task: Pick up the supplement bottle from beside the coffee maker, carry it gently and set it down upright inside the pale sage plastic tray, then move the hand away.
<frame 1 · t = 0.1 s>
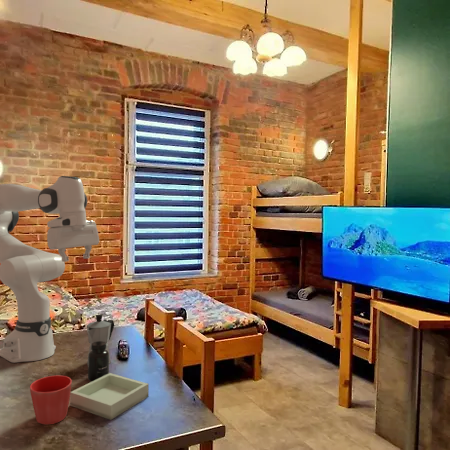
hand: (76, 259, 148), 39 cm above the table, tool pointing down, fingers open, 8 cm apart
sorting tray: (110, 400, 125), on the table
coffee maker: (101, 362, 155), on the table
supplement bottle: (98, 378, 141), on the table
flower pot: (51, 418, 115), on the table
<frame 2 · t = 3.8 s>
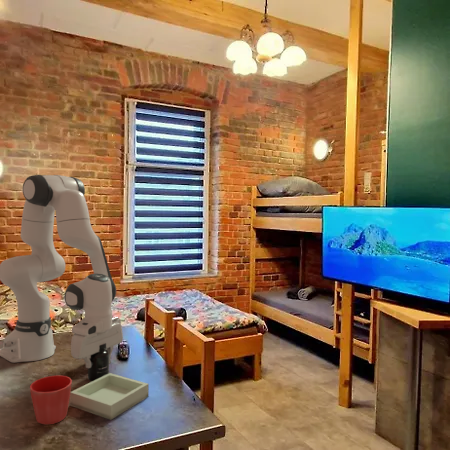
hand: (98, 363, 141), 5 cm above the table, tool pointing down, fingers closed on supplement bottle, 7 cm apart
supplement bottle: (98, 378, 141), on the table, touching gripper
everything else where it was.
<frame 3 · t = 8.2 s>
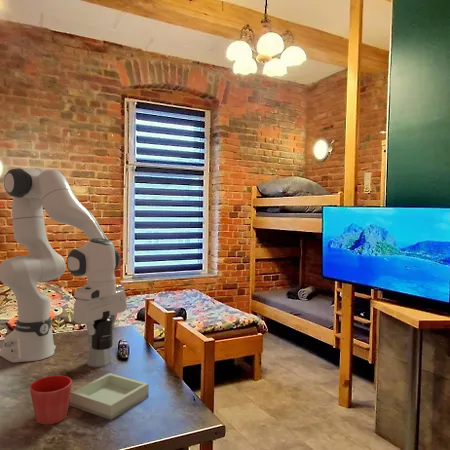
hand: (102, 330, 136), 18 cm above the table, tool pointing down, fingers closed on supplement bottle, 7 cm apart
supplement bottle: (102, 347, 136), point 12 cm above the table, touching gripper
everything else where it was.
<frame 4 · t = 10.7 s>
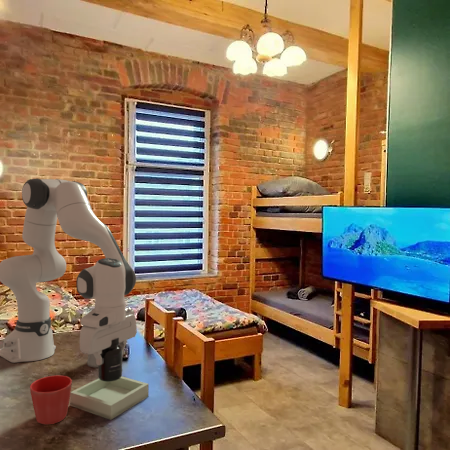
hand: (110, 359, 124), 13 cm above the table, tool pointing down, fingers closed on supplement bottle, 7 cm apart
supplement bottle: (110, 378, 124), point 7 cm above the table, touching gripper
everything else where it was.
when the fingers open (7 cm above the table, at t = 12.8 s): supplement bottle drops 1 cm, resting on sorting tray.
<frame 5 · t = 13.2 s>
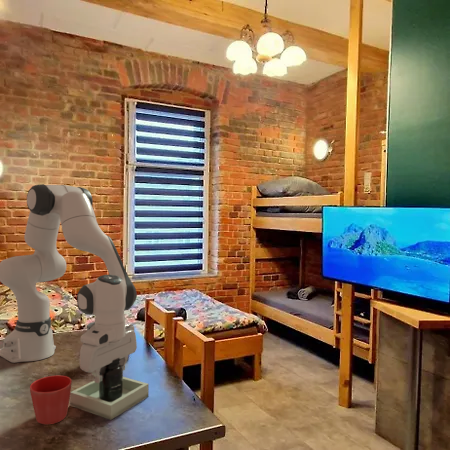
hand: (110, 376, 125), 8 cm above the table, tool pointing down, fingers open, 8 cm apart
supplement bottle: (111, 397, 125), point 1 cm above the table, touching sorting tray
everything else where it was.
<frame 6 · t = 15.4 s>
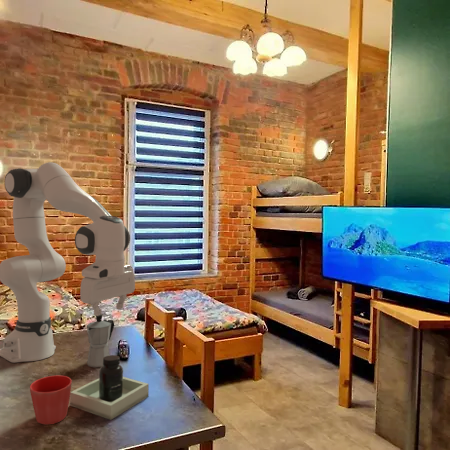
hand: (109, 311, 131), 25 cm above the table, tool pointing down, fingers open, 8 cm apart
nothing on the table moved.
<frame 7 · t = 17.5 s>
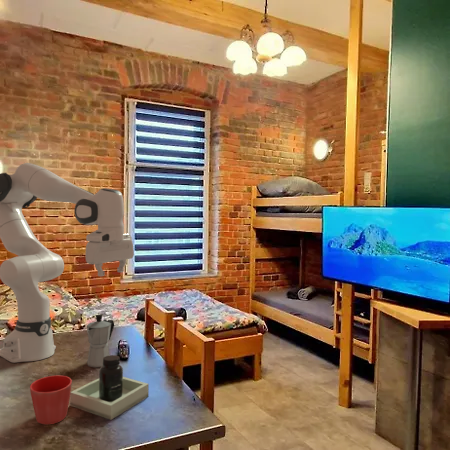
hand: (111, 274, 147), 34 cm above the table, tool pointing down, fingers open, 8 cm apart
nothing on the table moved.
at the end: supplement bottle inside the target area on the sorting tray (0.4 cm from its centre), point 0.8 cm above the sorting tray's base; supplement bottle tilted 0°; the gripper is holding nothing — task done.
